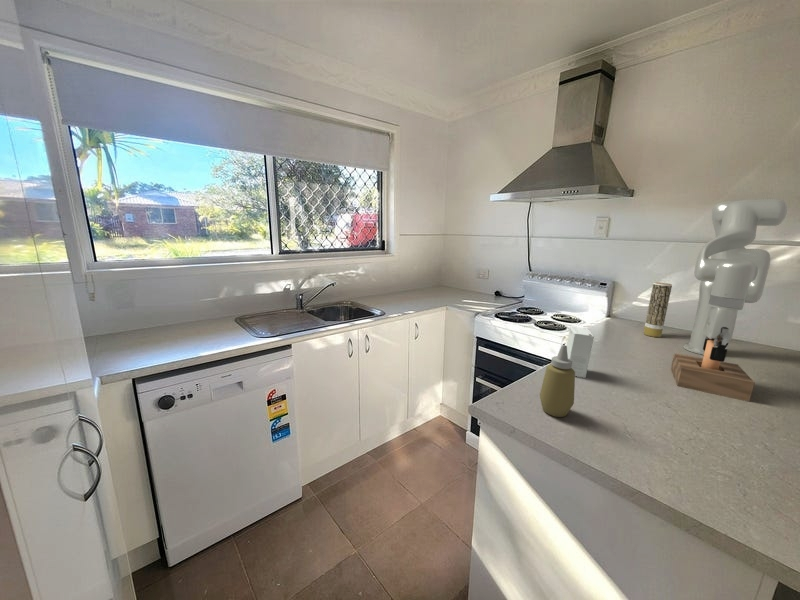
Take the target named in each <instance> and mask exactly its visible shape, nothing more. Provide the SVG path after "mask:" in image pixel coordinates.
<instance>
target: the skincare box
mask: <svg viewBox="0 0 800 600" xmlns="http://www.w3.org/2000/svg"><path fill="white" fill-rule="evenodd" d="M568 331H569V332H568V337H567V342H566V346H567V354H568V359H570V360H572V369H573V370H574V371H575V377H576V376H577V378H582V377H583V379H585V378H586V377H587V373H588V368H589V363H590V357H591V352H592V349H593V343H594V337H595V336H594V334H592V332H591V330H589V328H585V327H578V326H571V325H570V326H569V330H568Z"/></svg>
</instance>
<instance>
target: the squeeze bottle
mask: <svg viewBox="0 0 800 600" xmlns="http://www.w3.org/2000/svg"><path fill="white" fill-rule="evenodd" d="M575 381H576V376H575V371H574V370H573V369H572V360H570V359H568V354H567V344H566V345H565V344H562V345H561V346H560V348H559V351H558V353H557V355H555V356H553V357H552V358H551V362H550V364H548V365H547V366H546V367H545V372H544V376H543V379H542V383H541V387H540V392H539V399H540V403H541V408H542V410H543V412H544V413H546V414H547V415H551V416H553V417H557V418H562V417H566V416H567V415H568V414H569V412H570V411H571V408H572V407H573V405H574V404H575V386H576V385H575V383H576V382H575Z"/></svg>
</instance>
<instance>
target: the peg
mask: <svg viewBox="0 0 800 600" xmlns="http://www.w3.org/2000/svg"><path fill="white" fill-rule="evenodd" d="M718 342H719V341H718ZM712 347H714V340H707V344H706V349H705V353H704V355H703V357H702V358H703V361H702V365H701V367H703V368H708V369H714V370H718V369H719V366H720V362H721V361H715V360H711V359H710V354H711V350H712Z"/></svg>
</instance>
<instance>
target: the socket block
mask: <svg viewBox="0 0 800 600" xmlns="http://www.w3.org/2000/svg"><path fill="white" fill-rule="evenodd" d="M702 361H703V357H698V356H692V355H688V354H681V353H677V352H676V353H675V352H674V353H673V357H672V362H671V366H670V371H671V374H672V377H673V379H674V381H675V383H676V385H677V386H678V387H682V388H685V389H690V390H695V391H699V392H704V393H709V394H713V395H718V396H723V397H727V398H731V399H734V400H740V401H744V400H745V402H750V401H751V396H752V393H753V388H754V387H755V381H754V380H753V379H752V378H751V377H750V376H749V374H747V373H746V371H745V370H743V368H742V367H741V366H740V365H739V364H738V363H731V362H725V361H724V362H720V366H719V369H718V370H714V369H708V368H703V367H701V365H702Z"/></svg>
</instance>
